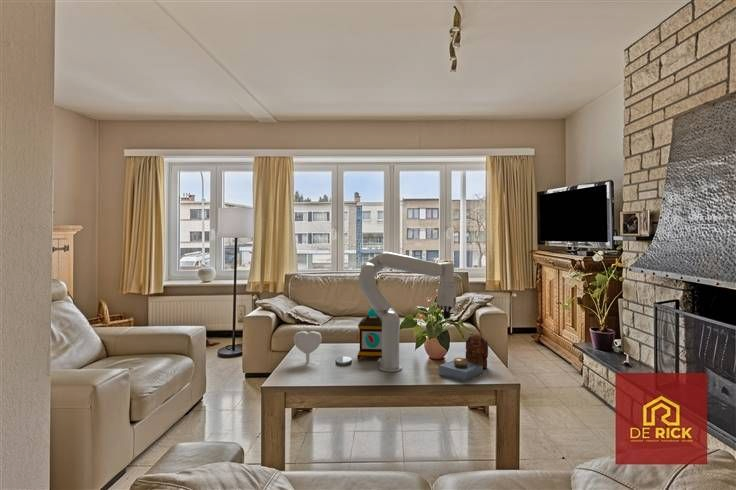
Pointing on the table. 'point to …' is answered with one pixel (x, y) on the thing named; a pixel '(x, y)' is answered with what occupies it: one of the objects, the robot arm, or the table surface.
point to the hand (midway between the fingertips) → (446, 318)
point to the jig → (460, 371)
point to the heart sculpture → (307, 344)
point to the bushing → (460, 362)
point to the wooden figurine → (477, 350)
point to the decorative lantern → (370, 336)
